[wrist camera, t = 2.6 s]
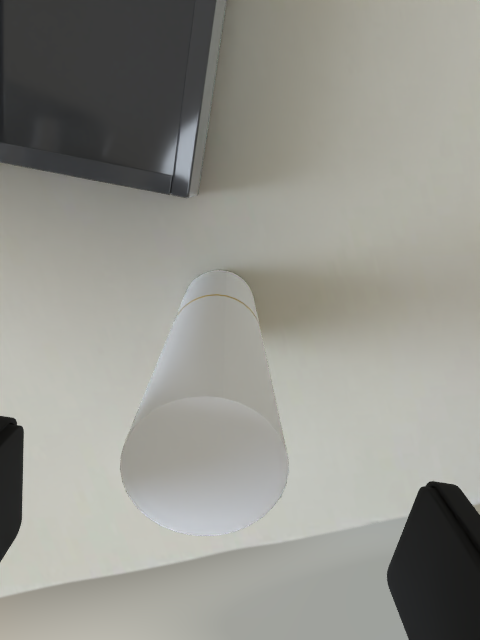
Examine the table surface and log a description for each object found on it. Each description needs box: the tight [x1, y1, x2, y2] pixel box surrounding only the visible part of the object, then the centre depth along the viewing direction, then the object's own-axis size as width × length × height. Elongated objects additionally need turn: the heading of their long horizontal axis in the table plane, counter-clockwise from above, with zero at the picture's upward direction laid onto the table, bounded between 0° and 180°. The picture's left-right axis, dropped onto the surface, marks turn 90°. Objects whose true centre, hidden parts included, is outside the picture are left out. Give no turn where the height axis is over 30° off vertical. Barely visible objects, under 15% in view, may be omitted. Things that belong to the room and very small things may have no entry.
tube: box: [120, 270, 289, 536], centre depth 17 cm, size 4×4×15 cm
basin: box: [0, 0, 227, 198], centre depth 17 cm, size 14×12×6 cm
